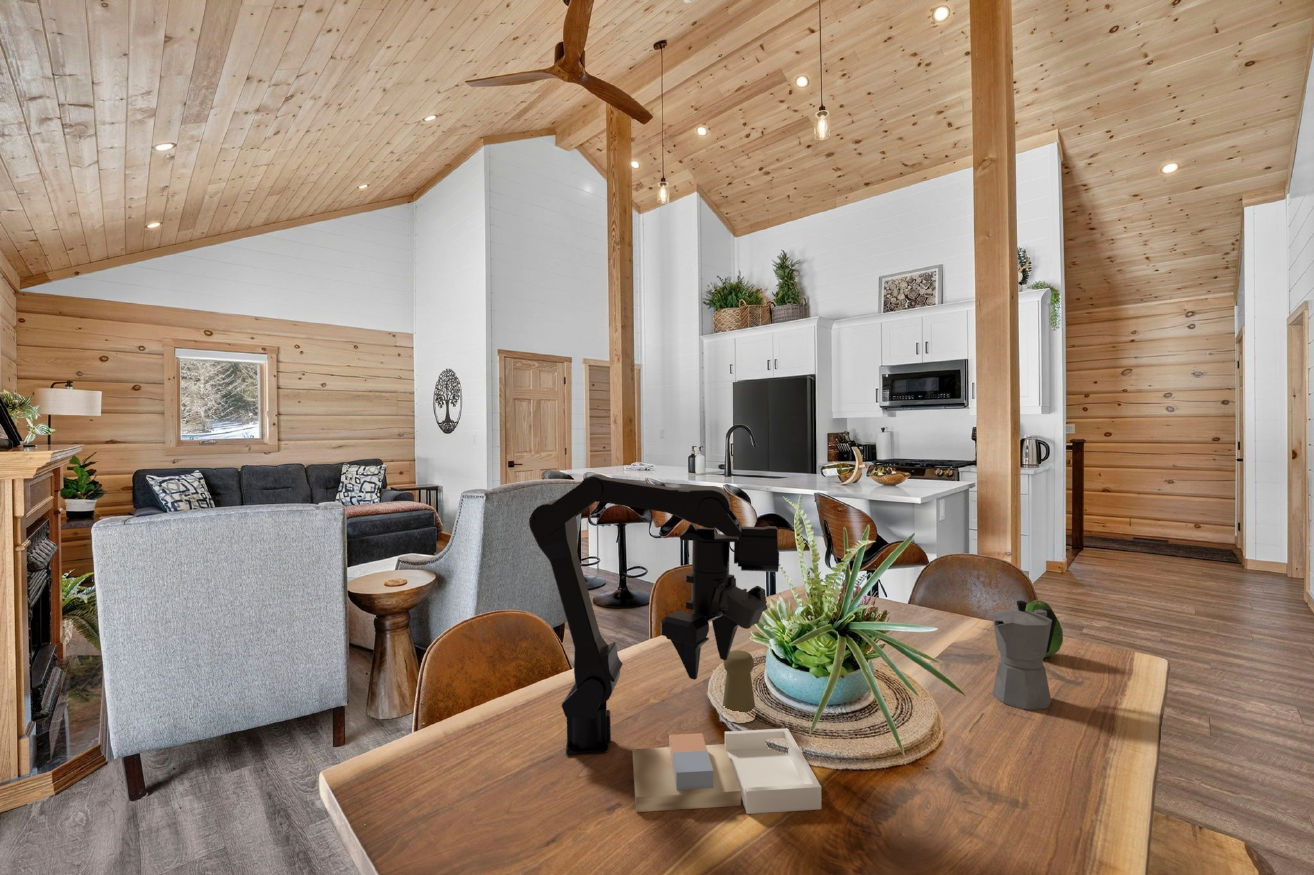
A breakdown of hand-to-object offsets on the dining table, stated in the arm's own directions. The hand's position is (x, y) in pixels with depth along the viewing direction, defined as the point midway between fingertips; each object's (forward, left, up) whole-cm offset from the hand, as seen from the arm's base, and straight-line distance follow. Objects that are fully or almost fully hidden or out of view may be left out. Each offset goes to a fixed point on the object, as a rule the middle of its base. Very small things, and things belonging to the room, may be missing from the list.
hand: (709, 668), depth 97 cm
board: (-5, -8, -13) cm, 16 cm away
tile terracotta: (-4, -5, -11) cm, 13 cm away
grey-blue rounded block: (-4, -10, -11) cm, 16 cm away
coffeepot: (+60, +12, -13) cm, 62 cm away
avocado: (+76, +30, -13) cm, 83 cm away
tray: (+7, -8, -13) cm, 17 cm away
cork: (+7, +11, -13) cm, 19 cm away
